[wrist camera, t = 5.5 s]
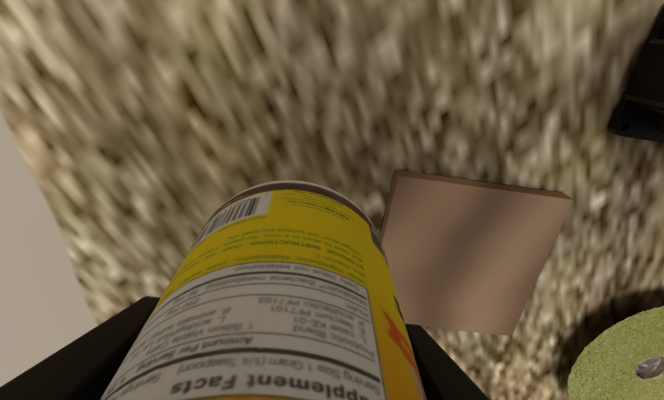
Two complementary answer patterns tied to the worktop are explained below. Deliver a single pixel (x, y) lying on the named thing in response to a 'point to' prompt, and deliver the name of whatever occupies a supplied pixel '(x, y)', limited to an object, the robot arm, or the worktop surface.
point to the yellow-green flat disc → (623, 361)
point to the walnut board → (467, 249)
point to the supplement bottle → (277, 309)
